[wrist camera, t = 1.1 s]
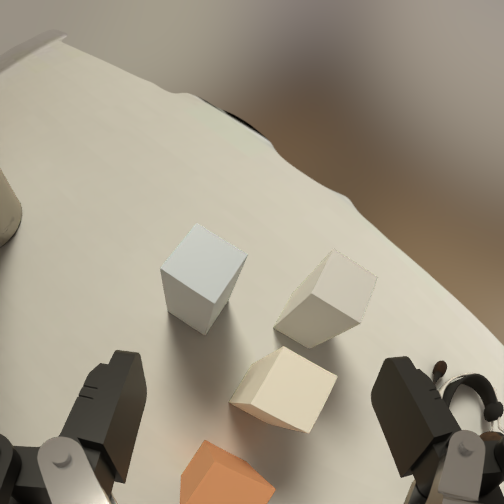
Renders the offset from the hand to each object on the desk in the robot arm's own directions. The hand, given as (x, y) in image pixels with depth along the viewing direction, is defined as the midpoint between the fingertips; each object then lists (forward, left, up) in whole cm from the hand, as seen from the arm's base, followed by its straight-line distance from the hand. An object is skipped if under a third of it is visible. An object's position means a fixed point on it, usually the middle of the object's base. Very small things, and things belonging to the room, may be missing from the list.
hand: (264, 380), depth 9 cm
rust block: (+5, -7, -24) cm, 26 cm away
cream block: (+5, +3, -24) cm, 25 cm away
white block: (-6, +8, -24) cm, 26 cm away
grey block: (+5, +13, -24) cm, 28 cm away
